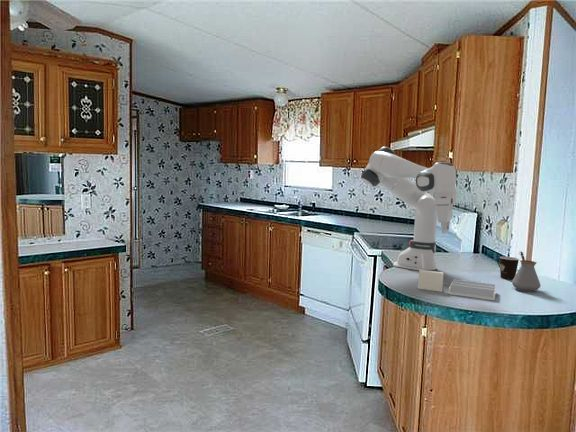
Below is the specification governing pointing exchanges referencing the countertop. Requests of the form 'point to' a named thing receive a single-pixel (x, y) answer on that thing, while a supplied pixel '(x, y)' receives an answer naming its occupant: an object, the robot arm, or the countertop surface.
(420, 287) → the ceramic tile
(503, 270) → the coffee mug
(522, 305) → the countertop surface
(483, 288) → the dish rack
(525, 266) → the coffee pot
